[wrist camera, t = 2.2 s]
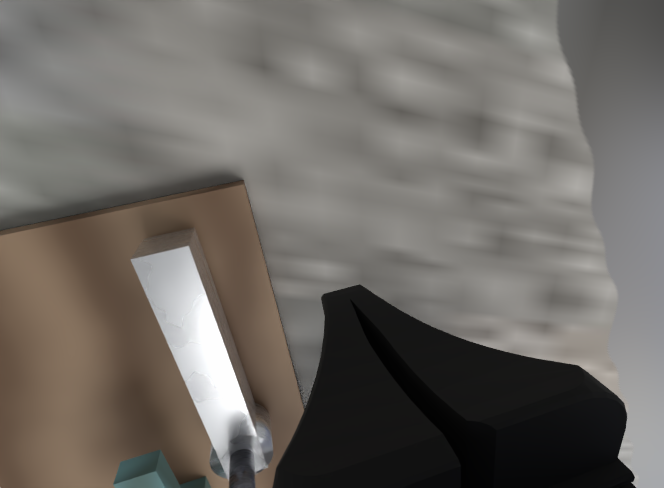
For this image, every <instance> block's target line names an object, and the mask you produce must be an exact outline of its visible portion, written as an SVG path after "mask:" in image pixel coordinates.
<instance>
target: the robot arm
mask: <svg viewBox="0 0 664 488" xmlns="http://www.w3.org/2000/svg"><path fill="white" fill-rule="evenodd" d="M321 300H322V305H323V310H324V315H325V325H324V338H323V345H322V352H321V358H320V362H319V367H318V371H317V375H316V378H315V382H314V385H313V388H312V391H311V394H310V397H309V400H308V403H307V405H306V408H305V410H304V412H303V415H302V417H301V419H300V422H299V424H298V426H297V429H296V431H295V433H294V435H293V437H292V439H291V441H290V443H289V445H288V447H287V448H286V450H285V452H284V454H283V456H282V458H281V460H280V461H279V463H278V465H277V467H276V471H275V476H274V482H273V487H272V488H636V487H635V486H634V485H633V484H632V483H631V482H633V481H634V478H635V477H634V475H633V473H632V471H631V470H630V469H629V468H627V467H626V466H625V465H624V464H623V463H622V462H621V461H620V460H619V459H618V454H619V450H620V447H621V443H622V440H623V436H624V432H625V429H626V421H627V413H626V409H625V405H624V403H623V402H622V401H621V400H620V398H619V397H618V396H617V395H615V394H614V393H613V392H612V391H610V390H609V389H608V388H607V387H605V386H604V385H603V384H602V383H600V382H599V381H598V380H597V379H595V378H594V377H593V376H592V375H590V374H589V373H588V372H586V371H585V370H584V369H582V368H581V367H580V366H578V365H572V364H566V363H560V362H554V361H548V360H542V359H535V358H530V357H526V356H521V355H517V354H513V353H508V352H504V351H500V350H497V349H493V348H489V347H486V346H483V345H480V344H476V343H473V342H470V341H467V340H464V339H461V338H458V337H456V336H453V335H451V334H448V333H446V332H443V331H441V330H438V329H436V328H434V327H431V326H429V325H427V324H425V323H423V322H421V321H419V320H417V319H415V318H413V317H411V316H409V315H408V314H406V313H404V312H402V311H401V310H399V309H397V308H395V307H394V306H392V305H391V304H389V303H387V302H386V301H384V300H383V299H381V298H380V297H378V296H377V295H375V294H374V293H372V292H371V291H369V290H368V289H366V288H365V287H363V286H361V285H356V286H352V287H348V288H345V289H341V290H337V291H333V292H329V293H326V294H324V295H323V296H322V297H321Z"/></svg>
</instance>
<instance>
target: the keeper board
mask: <svg viewBox="0 0 664 488" xmlns="http://www.w3.org/2000/svg"><path fill="white" fill-rule="evenodd" d="M194 227H195V229H196V232H197V235H198V238H199V241H200V244H201V247H202V249H203V252H204V255H205V258H206V261H207V264H208V267H209V270H210V273H211V276H212V279H213V281H214V284H215V287H216V290H217V293H218V296H219V299H220V302H221V305H222V308H223V311H224V314H225V316H226V319H227V322H228V325H229V328H230V331H231V334H232V337H233V340H234V343H235V346H236V349H237V351H238V354H239V357H240V360H241V363H242V366H243V369H244V372H245V375H246V378H247V381H248V383H249V386H250V389H251V392H252V395H253V398H254V401H255V403H256V404H259V405H261V406H263V407H264V408H265V409H266V410H267V411H268V413H269V415H270V423H271V433H272V444H273V457H272V460H271V462H270V463H269V465H268V468H265V469H264V470H262V471H261V472H259V473H258V474H256V475H255V483H256V488H272V487H273V482H274V476H275V471H276V467H277V465H278V463H279V461H280V460H281V458H282V456H283V454H284V452H285V450H286V448H287V447H288V445H289V443H290V441H291V439H292V437H293V435H294V433H295V431H296V429H297V426H298V424H299V422H300V419H301V417H302V415H303V412H304V406H303V402H302V398H301V394H300V391H299V387H298V383H297V379H296V376H295V372H294V368H293V364H292V360H291V357H290V353H289V349H288V345H287V342H286V338H285V334H284V330H283V326H282V323H281V319H280V315H279V311H278V308H277V304H276V300H275V296H274V293H273V289H272V285H271V281H270V277H269V274H268V270H267V266H266V262H265V259H264V255H263V251H262V247H261V243H260V240H259V236H258V232H257V228H256V225H255V221H254V217H253V213H252V210H251V206H250V202H249V198H248V194H247V191H246V187H245V183H244V180H241V181H237V182H232V183H227V184H222V185H217V186H213V187H208V188H203V189H198V190H193V191H189V192H184V193H179V194H174V195H169V196H165V197H160V198H155V199H150V200H146V201H141V202H136V203H131V204H126V205H122V206H117V207H112V208H107V209H102V210H98V211H93V212H88V213H83V214H78V215H74V216H69V217H64V218H59V219H54V220H50V221H45V222H40V223H35V224H31V225H26V226H21V227H16V228H11V229H7V230H2V231H0V487H1V488H229V481H228V479H226V478H222V477H220V476H218V475H217V474H215V473H214V472H213V471H212V469H211V467H210V450H211V440H210V438H209V435H208V433H207V431H206V429H205V426H204V424H203V422H202V420H201V417H200V415H199V413H198V411H197V408H196V406H195V404H194V402H193V399H192V397H191V395H190V393H189V390H188V388H187V386H186V384H185V381H184V379H183V377H182V375H181V372H180V370H179V368H178V366H177V363H176V361H175V359H174V357H173V354H172V352H171V350H170V348H169V345H168V343H167V341H166V339H165V336H164V334H163V332H162V330H161V327H160V325H159V323H158V321H157V318H156V316H155V314H154V311H153V309H152V307H151V305H150V302H149V300H148V298H147V296H146V293H145V291H144V289H143V287H142V284H141V282H140V280H139V278H138V275H137V273H136V271H135V269H134V266H133V264H132V262H131V260H130V259H131V258H132V256H133V255H134V253H135V252H136V250H137V249H138V247H139V246H140V244H141V243H142V241H143V240H144V239H145V238H149V237H154V236H158V235H163V234H167V233H172V232H176V231H181V230H185V229H190V228H194Z"/></svg>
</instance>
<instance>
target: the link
mask: <svg viewBox="0 0 664 488" xmlns="http://www.w3.org/2000/svg"><path fill="white" fill-rule="evenodd" d="M130 260H131V262H132V264H133V266H134V269H135V271H136V273H137V275H138V278H139V280H140V282H141V284H142V287H143V289H144V291H145V293H146V296H147V298H148V300H149V302H150V305H151V307H152V309H153V311H154V314H155V316H156V318H157V321H158V323H159V325H160V327H161V330H162V332H163V334H164V336H165V339H166V341H167V343H168V345H169V348H170V350H171V352H172V354H173V357H174V359H175V361H176V363H177V366H178V368H179V370H180V372H181V375H182V377H183V379H184V381H185V384H186V386H187V388H188V390H189V393H190V395H191V397H192V399H193V402H194V404H195V406H196V408H197V411H198V413H199V415H200V417H201V420H202V422H203V424H204V426H205V429H206V431H207V433H208V435H209V438H210V440H211V450H210V467H211V469H212V471H213V472H214V473H215V474H217V475H218V476H220V477H222V478H226V479H228V481H229V488H256V483H255V475H256V474H258V473H259V472H261V471H262V470H264V469H265V468H268V465H269V463H270V462H271V460H272V457H273V444H272V433H271V423H270V415H269V413H268V411H267V410H266V409H265V408H264V407H263V406H261V405H259V404H256V403H255V401H254V398H253V395H252V392H251V389H250V386H249V383H248V381H247V378H246V375H245V372H244V369H243V366H242V363H241V360H240V357H239V354H238V351H237V349H236V346H235V343H234V340H233V337H232V334H231V331H230V328H229V325H228V322H227V319H226V316H225V314H224V311H223V308H222V305H221V302H220V299H219V296H218V293H217V290H216V287H215V284H214V281H213V279H212V276H211V273H210V270H209V267H208V264H207V261H206V258H205V255H204V252H203V249H202V247H201V244H200V241H199V238H198V235H197V232H196V229H195V227H194V228H190V229H185V230H181V231H176V232H172V233H167V234H163V235H158V236H154V237H149V238H145V239H144V240H143V241H142V243H141V244H140V246H139V247H138V249H137V250H136V252H135V253H134V255H133V256H132V258H131V259H130Z"/></svg>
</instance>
